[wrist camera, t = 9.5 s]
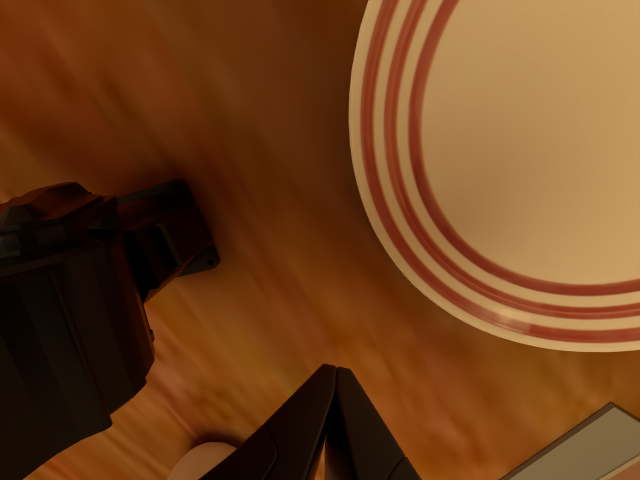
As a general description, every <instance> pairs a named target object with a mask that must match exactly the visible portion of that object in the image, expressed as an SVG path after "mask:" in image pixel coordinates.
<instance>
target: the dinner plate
mask: <svg viewBox="0 0 640 480" xmlns="http://www.w3.org/2000/svg"><path fill="white" fill-rule="evenodd" d="M349 137H350V147H351V156H352V163H353V168H354V174H355V178H356V182H357V186H358V189H359V193H360V196H361V199H362V202H363V205H364V208H365V211H366V214H367V216H368V219H369V221H370V223H371V225H372V227H373V230H374V232H375V233H376V235H377V237H378V239H379V240H380V242H381V244H382V245H383V247H384V249H385V250H386V252H387V253H388V255H389V256H390V258H391V259H392V260H393V262H394V263H395V264H396V266H397V267H398V268H399V269H400V271H401V272H402V273H403V274H404V275H405V277H406V278H407V279H408V280H409V281H410V282H411V283H412V284H413V285H414V286H415V287H416V288H417V289H418V290H420V291H421V292H422V293H423V294H424V295H425V296H426V297H428V298H429V299H430V300H431V301H433V302H434V303H435V304H437V305H438V306H439V307H441V308H442V309H444V310H445V311H447V312H448V313H450V314H451V315H453V316H455V317H456V318H458V319H460V320H462V321H464V322H466V323H467V324H469V325H472V326H474V327H476V328H478V329H480V330H483V331H485V332H488V333H490V334H493V335H496V336H498V337H501V338H504V339H508V340H511V341H515V342H518V343H523V344H527V345H532V346H536V347H542V348H548V349H555V350H565V351H579V352H616V351H631V350H640V0H368V4H367V7H366V10H365V13H364V17H363V20H362V23H361V26H360V31H359V36H358V40H357V45H356V50H355V55H354V60H353V66H352V73H351V82H350V92H349Z"/></svg>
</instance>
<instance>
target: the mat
mask: <svg viewBox="0 0 640 480" xmlns="http://www.w3.org/2000/svg"><path fill="white" fill-rule="evenodd" d="M638 455H640V421H639V420H638V419H636V418H634V417H633V416H631V415H630V414H628V413H626V412H625V411H623V410H622V409H620V408H618V407H617V406H615V405H614V404H612V403H609V404H608V405H607V406H605V407H604V408H602V409H601V410H599V411H598V412H596V413H595V414H594V415H592V416H591V417H589V418H588V419H586V420H585V421H584V422H582V423H581V424H579V425H578V426H576V427H575V428H574V429H572V430H571V431H569V432H568V433H566V434H565V435H563V436H562V437H561V438H559V439H558V440H556V441H555V442H553V443H552V444H551V445H549V446H548V447H546V448H545V449H543V450H542V451H541V452H539V453H538V454H536V455H535V456H533V457H532V458H530V459H529V460H528V461H526V462H525V463H523V464H522V465H520V466H519V467H518V468H516V469H515V470H513V471H512V472H510V473H509V474H508V475H506V476H505V477H503V478H502V479H500V480H599V479H600V478H602V477H604V476H605V475H607V474H609V473H610V472H612V471H614V470H615V469H617V468H619V467H620V466H622V465H624V464H625V463H627V462H629V461H630V460H632V459H633V458H635V457H637V456H638Z"/></svg>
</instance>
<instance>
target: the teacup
mask: <svg viewBox="0 0 640 480" xmlns="http://www.w3.org/2000/svg"><path fill="white" fill-rule="evenodd" d="M236 449H237V448H235V447H234V446H232V445H229V444H227V443H223V442H208V443H204V444H201V445H199V446H197V447H195V448H193V449H192V450H190V451H189V452H188V453H186V454H185V455H184V456H183V457H182V458H181V459H180V461H179V462H178V463H177V465H176V466H175V467H174V469H173V470H172V472H171V473H170V475H169V476H168V478H167V480H198V479H199V478H200V477H202V476H203V475H204V474H206V473H207V472H208V471H210V470H211V469H212V468H213V467H215V466H216V465H217V464H219V463H220V462H221V461H222V460H224V459H225V458H226V457H227V456H229V455H230V454H231V453H232V452H234V451H235V450H236Z"/></svg>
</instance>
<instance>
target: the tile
mask: <svg viewBox="0 0 640 480" xmlns="http://www.w3.org/2000/svg"><path fill="white" fill-rule="evenodd" d="M599 480H640V455H638V456H637V457H635V458H633V459H632V460H630V461H629V462H627V463H625V464H624V465H622V466H620V467H619V468H617V469H615V470H614V471H612V472H610V473H609V474H607V475H605V476H604V477H602V478H600V479H599Z"/></svg>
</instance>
